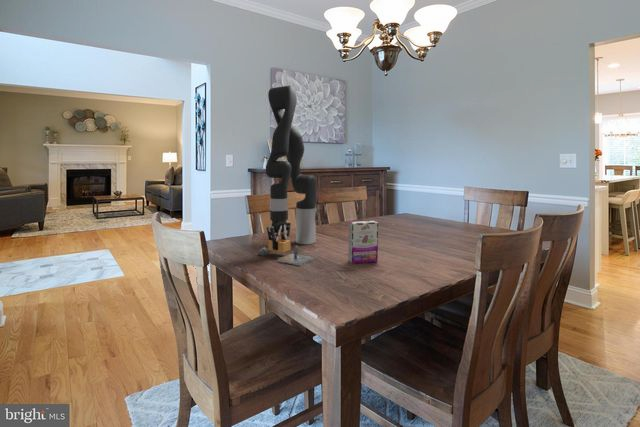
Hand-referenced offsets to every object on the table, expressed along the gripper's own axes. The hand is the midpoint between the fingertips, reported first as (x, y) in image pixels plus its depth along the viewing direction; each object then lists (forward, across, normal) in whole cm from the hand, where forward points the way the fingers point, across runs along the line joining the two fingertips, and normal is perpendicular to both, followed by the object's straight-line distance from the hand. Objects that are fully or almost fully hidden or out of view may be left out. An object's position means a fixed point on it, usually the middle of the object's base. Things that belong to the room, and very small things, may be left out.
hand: (279, 248), depth 158 cm
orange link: (+1, 0, 0) cm, 1 cm away
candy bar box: (+3, -10, +34) cm, 36 cm away
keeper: (+3, +3, +11) cm, 12 cm away
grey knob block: (+3, +2, -7) cm, 8 cm away
